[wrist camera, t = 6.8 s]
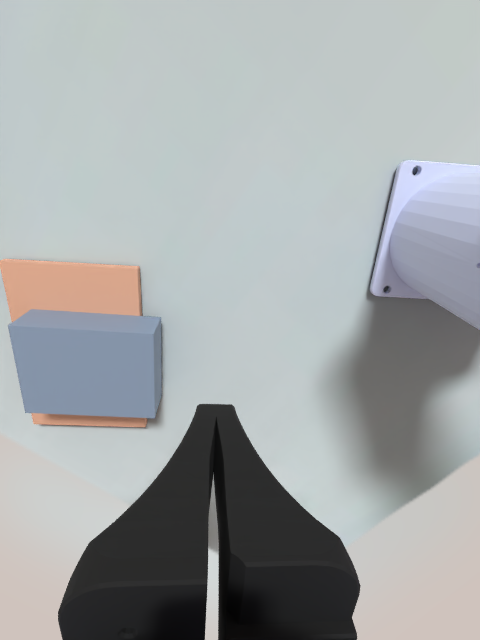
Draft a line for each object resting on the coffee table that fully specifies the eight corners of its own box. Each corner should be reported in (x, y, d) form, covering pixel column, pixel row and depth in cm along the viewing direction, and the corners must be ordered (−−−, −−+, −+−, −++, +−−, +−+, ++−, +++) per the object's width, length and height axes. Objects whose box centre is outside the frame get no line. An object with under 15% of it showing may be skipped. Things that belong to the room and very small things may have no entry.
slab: (153, 334, 20) (7, 325, 19) (154, 418, 22) (25, 412, 21) (161, 317, 22) (31, 309, 21) (161, 395, 24) (44, 389, 24)
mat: (139, 266, 21) (137, 268, 21) (147, 421, 26) (145, 427, 25) (5, 258, 21) (-2, 261, 20) (37, 418, 25) (33, 424, 25)
